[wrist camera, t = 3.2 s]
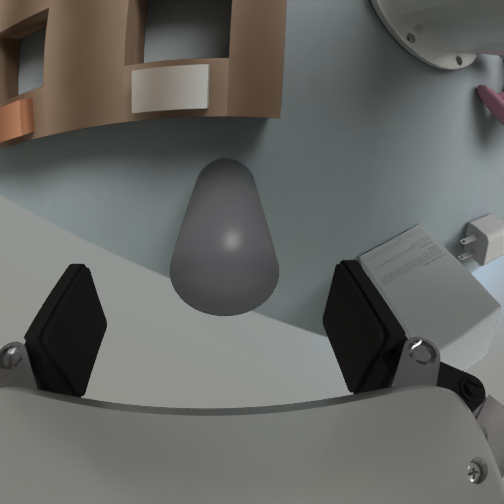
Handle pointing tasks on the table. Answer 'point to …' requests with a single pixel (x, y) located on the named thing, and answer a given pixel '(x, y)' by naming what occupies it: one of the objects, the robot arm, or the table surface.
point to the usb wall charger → (484, 239)
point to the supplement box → (434, 296)
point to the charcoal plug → (224, 244)
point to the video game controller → (492, 101)
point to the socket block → (132, 68)
